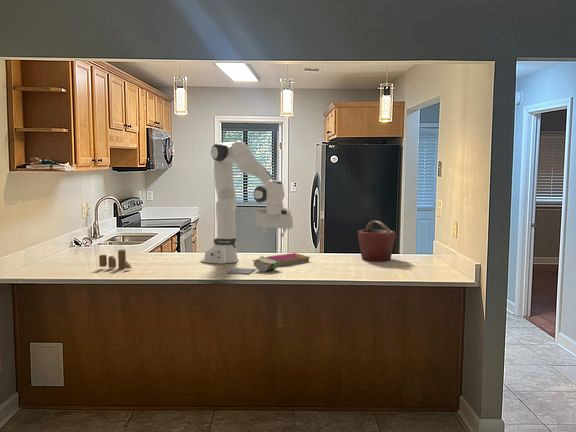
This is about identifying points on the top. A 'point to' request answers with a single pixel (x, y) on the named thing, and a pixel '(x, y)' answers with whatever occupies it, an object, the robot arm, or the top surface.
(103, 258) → the wooden block set
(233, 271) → the mat
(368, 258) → the bucket
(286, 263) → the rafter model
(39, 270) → the top surface
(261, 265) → the food container
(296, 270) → the top surface
